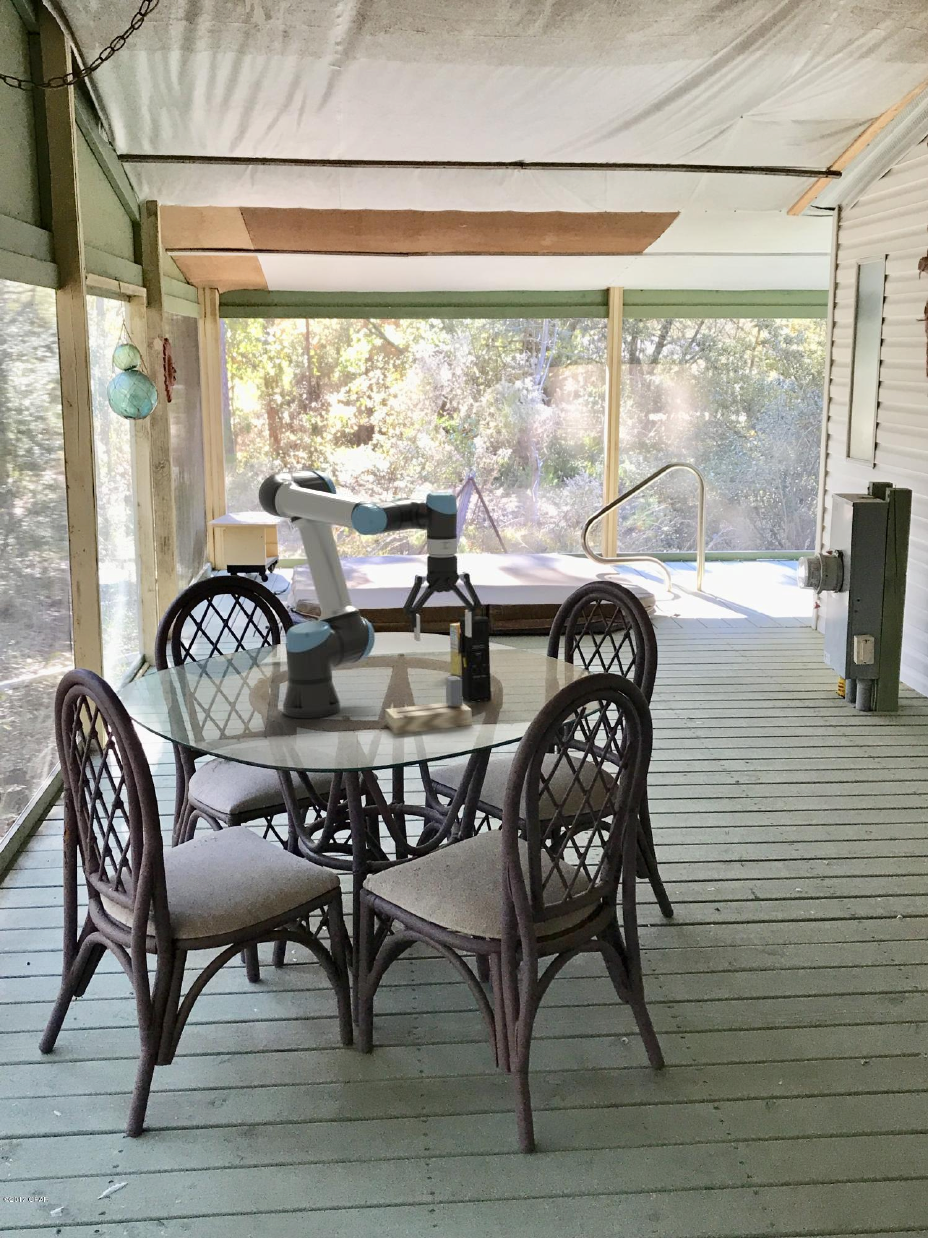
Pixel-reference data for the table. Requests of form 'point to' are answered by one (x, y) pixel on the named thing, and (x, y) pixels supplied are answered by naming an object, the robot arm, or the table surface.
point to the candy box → (455, 649)
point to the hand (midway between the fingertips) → (442, 638)
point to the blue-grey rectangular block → (454, 691)
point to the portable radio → (475, 660)
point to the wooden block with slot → (427, 717)
